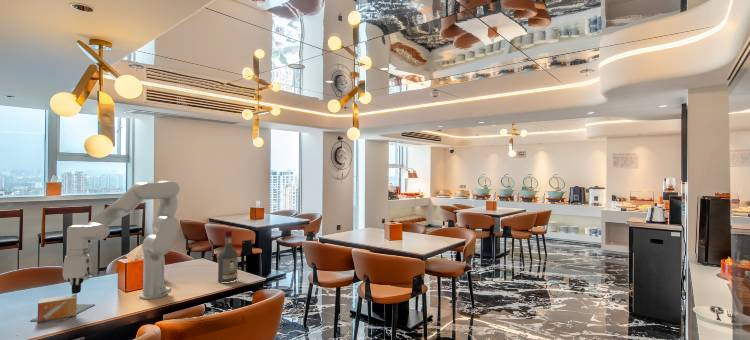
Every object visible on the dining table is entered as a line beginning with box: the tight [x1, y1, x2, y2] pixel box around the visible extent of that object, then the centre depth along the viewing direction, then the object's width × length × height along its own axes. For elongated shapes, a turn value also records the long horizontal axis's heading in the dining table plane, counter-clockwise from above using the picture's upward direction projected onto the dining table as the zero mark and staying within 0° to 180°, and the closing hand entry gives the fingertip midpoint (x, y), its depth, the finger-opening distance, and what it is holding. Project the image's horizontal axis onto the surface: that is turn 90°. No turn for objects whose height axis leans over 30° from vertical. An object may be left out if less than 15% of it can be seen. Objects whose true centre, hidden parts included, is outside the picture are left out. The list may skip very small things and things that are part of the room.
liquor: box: [217, 230, 239, 283], centre depth 224 cm, size 9×9×30 cm
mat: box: [30, 303, 96, 322], centre depth 172 cm, size 13×20×1 cm, turn 1°
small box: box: [36, 293, 78, 323], centre depth 166 cm, size 8×6×13 cm
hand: (76, 292), depth 172 cm, fingers closed
